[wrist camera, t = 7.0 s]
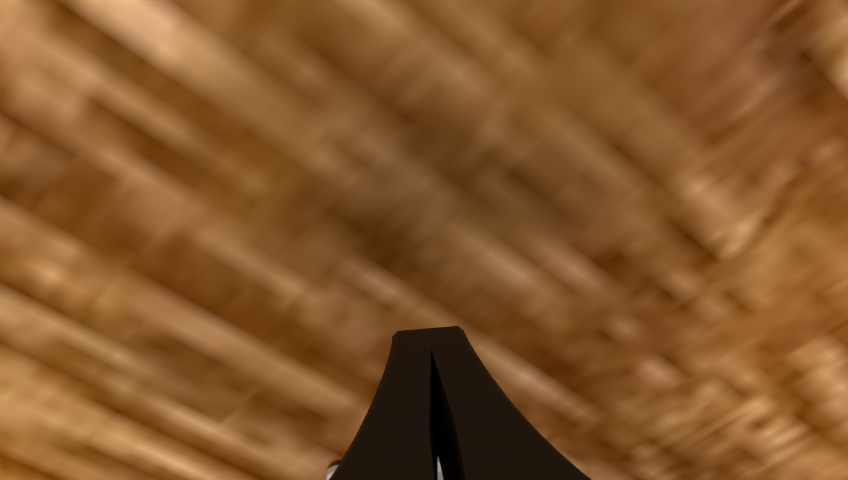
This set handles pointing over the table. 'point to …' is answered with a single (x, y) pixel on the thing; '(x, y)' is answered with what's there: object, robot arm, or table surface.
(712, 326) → the table surface
